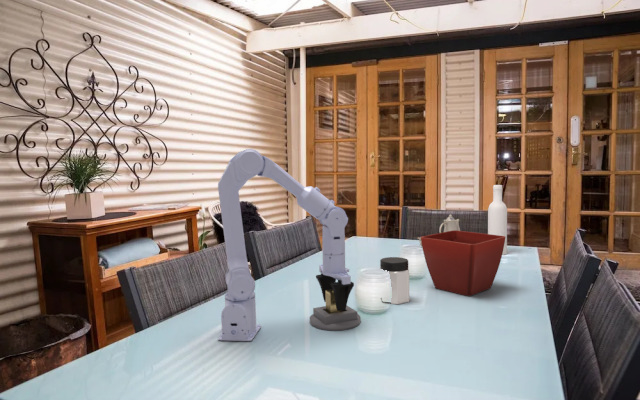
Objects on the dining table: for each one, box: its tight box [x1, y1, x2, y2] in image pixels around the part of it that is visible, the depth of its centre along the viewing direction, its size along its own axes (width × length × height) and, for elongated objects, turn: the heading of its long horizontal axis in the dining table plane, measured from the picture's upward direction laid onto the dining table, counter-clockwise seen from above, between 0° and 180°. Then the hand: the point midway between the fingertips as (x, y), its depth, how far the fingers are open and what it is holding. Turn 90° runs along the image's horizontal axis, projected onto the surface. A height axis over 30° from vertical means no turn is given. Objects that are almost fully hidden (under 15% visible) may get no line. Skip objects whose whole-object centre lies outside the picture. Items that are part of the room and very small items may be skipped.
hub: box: [309, 304, 361, 332], centre depth 113 cm, size 13×13×3 cm
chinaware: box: [417, 214, 461, 247], centre depth 210 cm, size 28×17×17 cm, turn 129°
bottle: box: [487, 184, 508, 256], centre depth 193 cm, size 8×8×30 cm
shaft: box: [325, 289, 343, 314], centre depth 113 cm, size 4×3×7 cm
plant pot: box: [420, 230, 505, 297], centre depth 140 cm, size 19×19×17 cm
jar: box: [379, 256, 410, 305], centre depth 130 cm, size 9×8×12 cm
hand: (334, 305), depth 113 cm, fingers open, 7 cm apart
